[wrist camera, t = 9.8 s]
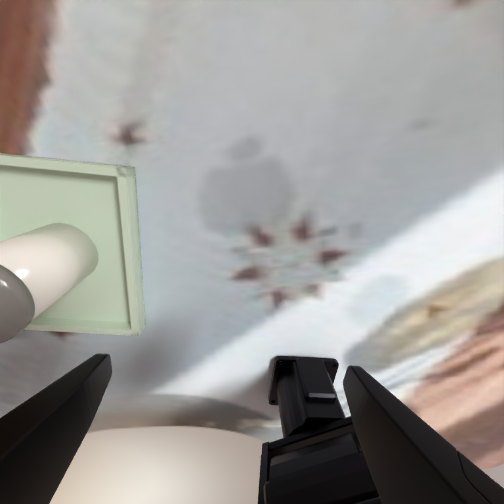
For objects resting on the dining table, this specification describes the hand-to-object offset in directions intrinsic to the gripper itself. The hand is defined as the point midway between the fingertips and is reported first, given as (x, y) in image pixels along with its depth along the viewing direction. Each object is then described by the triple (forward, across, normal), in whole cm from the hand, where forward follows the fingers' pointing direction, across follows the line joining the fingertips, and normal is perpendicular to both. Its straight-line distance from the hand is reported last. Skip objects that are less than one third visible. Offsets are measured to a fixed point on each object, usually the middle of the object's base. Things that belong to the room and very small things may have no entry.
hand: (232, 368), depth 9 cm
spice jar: (+12, +13, +1) cm, 18 cm away
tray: (+12, +14, +1) cm, 18 cm away
